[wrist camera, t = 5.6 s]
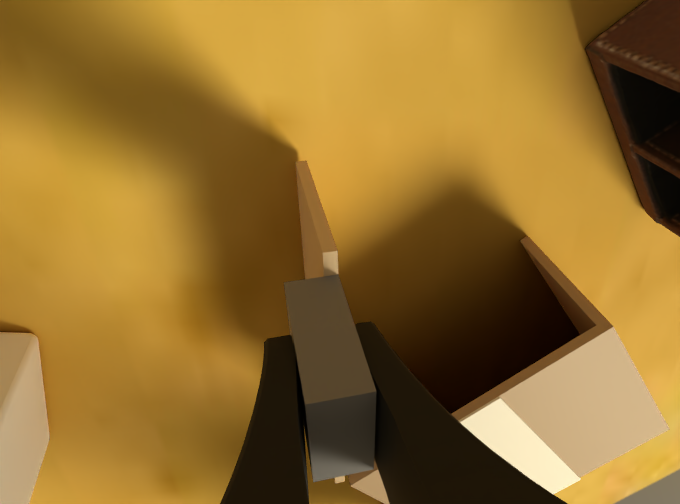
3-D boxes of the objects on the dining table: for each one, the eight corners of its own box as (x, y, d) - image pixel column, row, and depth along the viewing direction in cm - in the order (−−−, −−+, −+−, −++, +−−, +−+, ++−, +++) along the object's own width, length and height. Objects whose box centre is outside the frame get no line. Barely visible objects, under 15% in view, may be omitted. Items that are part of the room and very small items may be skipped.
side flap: (306, 160, 17) (377, 365, 9) (321, 373, 24) (369, 593, 16) (264, 165, 17) (302, 379, 9) (291, 378, 24) (326, 604, 16)
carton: (591, 339, 28) (671, 431, 23) (421, 442, 30) (459, 544, 25) (527, 235, 22) (615, 328, 17) (324, 373, 25) (350, 488, 20)
